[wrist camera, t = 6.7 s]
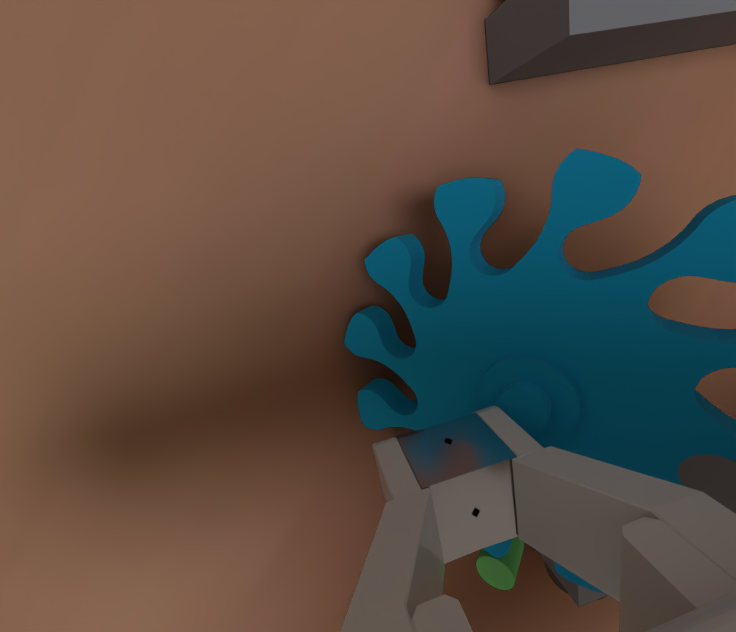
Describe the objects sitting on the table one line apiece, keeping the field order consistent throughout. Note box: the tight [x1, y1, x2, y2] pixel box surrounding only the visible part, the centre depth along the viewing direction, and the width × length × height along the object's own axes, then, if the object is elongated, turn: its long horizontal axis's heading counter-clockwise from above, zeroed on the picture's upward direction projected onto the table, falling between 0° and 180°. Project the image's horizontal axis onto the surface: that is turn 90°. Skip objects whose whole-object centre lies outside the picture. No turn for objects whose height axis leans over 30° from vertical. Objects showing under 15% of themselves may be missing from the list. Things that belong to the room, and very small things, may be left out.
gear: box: [344, 148, 736, 595], centre depth 10 cm, size 11×6×10 cm
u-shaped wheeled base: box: [485, 0, 736, 607], centre depth 12 cm, size 14×20×3 cm, turn 11°
